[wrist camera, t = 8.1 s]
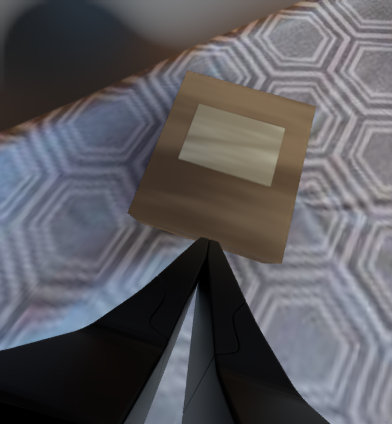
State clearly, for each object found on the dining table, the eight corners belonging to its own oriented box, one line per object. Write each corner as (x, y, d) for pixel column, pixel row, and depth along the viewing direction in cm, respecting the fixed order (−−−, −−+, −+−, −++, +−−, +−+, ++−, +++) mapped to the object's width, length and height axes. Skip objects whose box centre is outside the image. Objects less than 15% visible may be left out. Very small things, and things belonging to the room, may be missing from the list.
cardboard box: (283, 263, 13) (317, 104, 16) (126, 212, 14) (187, 68, 17) (261, 263, 17) (292, 135, 20) (141, 223, 18) (188, 105, 21)
